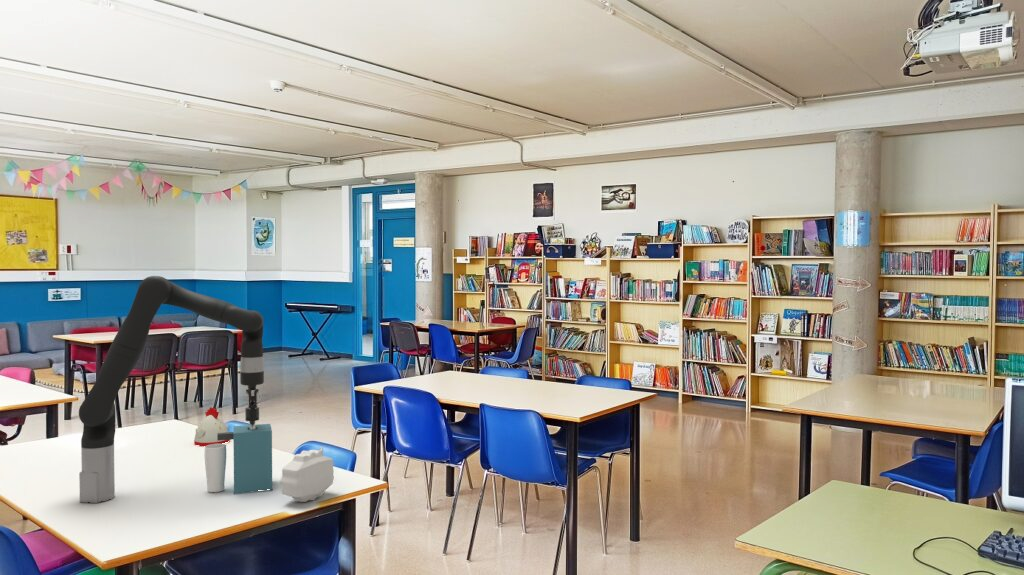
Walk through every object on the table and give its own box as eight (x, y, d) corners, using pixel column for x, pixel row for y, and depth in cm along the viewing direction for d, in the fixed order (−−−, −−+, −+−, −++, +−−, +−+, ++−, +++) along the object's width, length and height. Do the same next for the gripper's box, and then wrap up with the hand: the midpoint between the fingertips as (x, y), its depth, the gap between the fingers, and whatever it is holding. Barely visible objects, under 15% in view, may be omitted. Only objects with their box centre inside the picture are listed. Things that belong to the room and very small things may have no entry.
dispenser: (270, 480, 261) (270, 423, 260) (272, 490, 250) (271, 430, 249) (218, 485, 255) (217, 427, 255) (217, 495, 244) (217, 434, 243)
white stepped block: (338, 494, 245) (338, 445, 245) (299, 510, 229) (299, 458, 229) (313, 489, 250) (313, 442, 250) (273, 504, 234) (272, 454, 234)
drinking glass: (212, 495, 244) (211, 449, 244) (200, 491, 249) (200, 446, 248) (230, 490, 250) (230, 445, 249) (219, 486, 254) (219, 442, 254)
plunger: (259, 450, 256) (258, 406, 255) (259, 453, 252) (259, 408, 251) (245, 451, 254) (245, 407, 254) (245, 454, 250) (245, 409, 250)
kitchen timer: (207, 448, 308) (207, 411, 308) (187, 443, 316) (187, 408, 315) (236, 441, 320) (236, 406, 319) (216, 437, 327) (216, 403, 327)
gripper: (264, 372, 247) (264, 421, 247) (263, 366, 260) (263, 413, 261) (240, 373, 244) (240, 422, 245) (240, 367, 258) (240, 414, 258)
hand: (252, 417), depth 253 cm, fingers open, 8 cm apart
